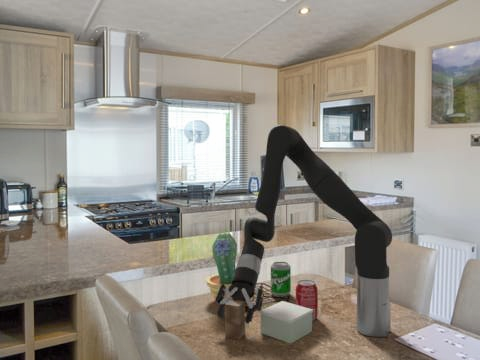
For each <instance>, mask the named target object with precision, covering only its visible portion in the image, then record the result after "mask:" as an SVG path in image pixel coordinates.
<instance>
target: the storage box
mask: <svg viewBox="0 0 480 360" xmlns="http://www.w3.org/2000/svg"><path fill="white" fill-rule="evenodd" d="M312 312H313V309H309V308H306V307H302V306H299V305H296V303H291V302H288V301H285V300H281V301H279V302H277V303H275V304H272V305H270V306H268V307H266V308H263V309H261V310H260V311H259V314H260V334H263V335H265V336H269V337H271V338H274V339H277V340H279V341H282V342H285V343H288V344H292V343H294V342H296V341H298V340H299V339H301V338H303V337H305V336H307V335H308V334H310V333H312V331H313V321H312Z"/></svg>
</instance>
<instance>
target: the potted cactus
mask: <svg viewBox="0 0 480 360" xmlns="http://www.w3.org/2000/svg"><path fill="white" fill-rule="evenodd" d="M211 249H212V250H211V251H212V258H213V261H214V262H215V264H216V269H217V272H218V273H217V274H213V275H210V276H208V277H206V279H205V280H206V285H207V287H209V290H210V293H211V294H212V296H213V297H214V303H216V304H217V302H216V301H215V299H216V297H217V294H218V292H219V289H220V286H221V285H222V284H224V286H227V287H230V286H231V284H232V280H233V277H234V273H235V270H236V258H237V255H238V254H237V253H238V252H237V251H238V250H237V249H238V243H237V242H236V240H235V238H234V237H233V236H232V234H231V233H230V232H228V233H227V232H223V233H221V232H220V233H219V234H217V237H216V238H215V240H214V241H213V243H212V245H211ZM229 293H230V292H229V291H228V292H227V293H226V294H225V295H224V298H225V296H226V295H227V294H229ZM224 298H223V299H224ZM231 298H232V297H231ZM231 298H230V299H231Z"/></svg>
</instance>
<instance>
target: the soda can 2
mask: <svg viewBox="0 0 480 360" xmlns="http://www.w3.org/2000/svg"><path fill="white" fill-rule="evenodd" d="M318 298H319V295H318V287H317V284H316V281H315V280H312V279H301V280H298V281H297V284H296V287H295V305H299V306H302V307H306V308H309V309H313V312H312V322H313V321H314V320H315V319H317V318H318V308H319V304H318V303H319V299H318Z"/></svg>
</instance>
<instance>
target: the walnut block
mask: <svg viewBox="0 0 480 360" xmlns="http://www.w3.org/2000/svg"><path fill="white" fill-rule="evenodd" d="M245 303H246V302H245V301H239V300H232V299H231V300H230V301H228V302H227V303H226V304H225V313H224V334H225V335H224V337H225V338H226V339H232V340H239V341H240V340H241V339H242V338H243V337H244V336H245V334H246V322H245V318H246V312H245V311H246V310H245V309H246V304H245Z"/></svg>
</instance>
